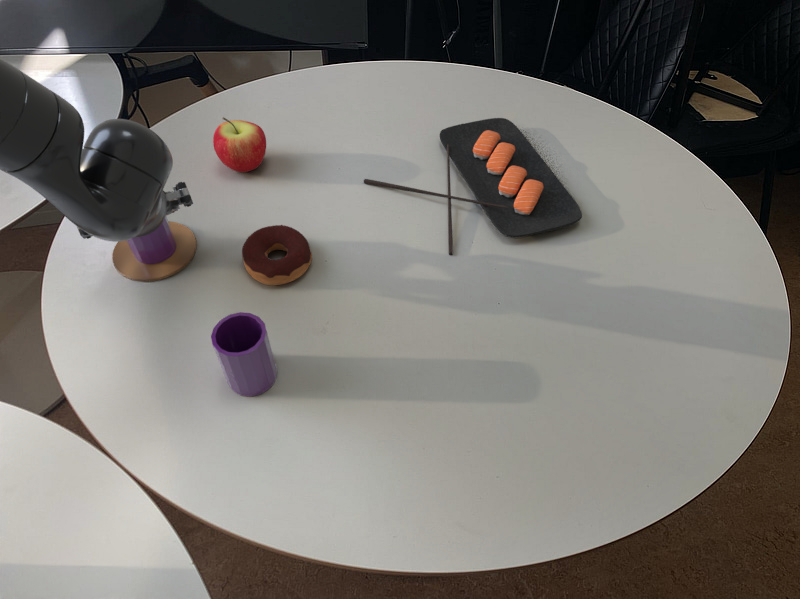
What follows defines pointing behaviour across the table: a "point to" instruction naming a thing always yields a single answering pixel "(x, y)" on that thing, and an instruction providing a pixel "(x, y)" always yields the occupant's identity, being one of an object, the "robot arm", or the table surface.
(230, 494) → the table surface
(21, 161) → the robot arm
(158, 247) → the cup
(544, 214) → the sushi plate
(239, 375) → the cup
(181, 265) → the coaster
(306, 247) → the donut
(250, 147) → the apple
